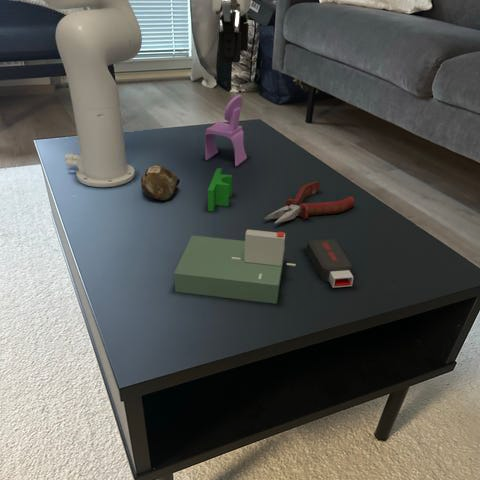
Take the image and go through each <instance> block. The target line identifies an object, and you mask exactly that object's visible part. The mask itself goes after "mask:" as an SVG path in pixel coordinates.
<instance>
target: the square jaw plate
mask: <svg viewBox="0 0 480 480" xmlns="http://www.w3.org/2000/svg"><path fill="white" fill-rule="evenodd" d="M244 235H245V236H244V241H245V254H244V262H249V263H258V264H267V265H275V266H282V262H283V253H284V254H285V252H284V245H285V244H286V232H285V231H277V232H275V231H267V230H265V231H264V230H255V229H246V231H245V234H244ZM283 263H284V262H283Z"/></svg>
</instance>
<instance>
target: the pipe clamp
mask: <svg viewBox="0 0 480 480" xmlns="http://www.w3.org/2000/svg"><path fill="white" fill-rule="evenodd" d="M232 196H233V175H232V174H225V173H224V174H223V168H221V167H220V168H219V167H217V168H216V169H215V171H214V174H213V176H212V179H211V182H210V184H209V186H208V189H207V211H208V212H214V211H215V208H216V206H223V207H229V206H230V198H231V197H232Z"/></svg>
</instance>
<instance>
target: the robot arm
mask: <svg viewBox="0 0 480 480" xmlns="http://www.w3.org/2000/svg"><path fill="white" fill-rule="evenodd" d="M42 1H43V2H44V3H45V4H46V6H49V7H50V8H52V9H55V10H73V9H81V8H88V9H85V10H79V11H74V12H70V13H69V14H66V15H65V16H63V17H62V18H61V19H60V20H59V21H58V23H57V25H56V29H55V43H56V47H57V48H56V49H57V51H58V54H59V56H60V60H61V62H62V65H63V68H64V70H65V75H66V78H67V79H66V80H67V83H68V88H69V93H70V100H71V105H72V111H73V116H74V123H75V128H76V134H77V141H78V147H79V153H78V154H75V153H65V155H64V160H65V164H66V166H67V167H76V168H77V171H76V173H75V174H76V179H77V180H78V182H80V183H81V184H82V185H85V186H89V187H94V188H111V187H112V188H113V187H118V186H122V185H125V184H127V183H129V182H131V181H132V180H133V179H134V178H135V176H136V170H135V168H134V167H133V166H132V165H131V164H128V162H127V154H126V153H127V152H126V143H125V134H124V124H123V115H122V106H121V98H120V91H119V87H118V85H117V83H116V80H115V79H114V77H113V75H112V74H111V72H110V70H109V68H108V67H109V66H111V65H114V64H115V65H116V64H120V63H123V62H127V61H129V60H132V59H134V58H135V57H137V56H138V54H139V53H140V51H141V48H142V45H143V44H142V42H143V37H142V30H141V26H140V24H139V21H138V19H137V16H136V14H135V12H134V11H135V10H134V9H133V7H132V4H131V3H130V1H129V0H42ZM251 4H252V0H211V12H212V13H213V15H214V16H218V15H220V19H219V31H218V55H219V56H218V58H219V62H221V63H240V62H241V56H242V55H241V53H242V52H246V51H248V49H249V22H248V21H249V20H248V19H249V17H248V14H249V13H248V11H250V9H251Z"/></svg>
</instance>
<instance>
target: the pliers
mask: <svg viewBox="0 0 480 480" xmlns="http://www.w3.org/2000/svg"><path fill="white" fill-rule="evenodd" d="M320 186H321V185H320V182H319V181H312V182H310V183H307V184H305V185H302V186H301V187H300V188H299V190H298V192H297V193H296V195H295V197H294V198H288V199H287V200H286V201H285V204H284V206H282V207H280V208H278V209H277V210H275V211H274V212H272V213H270V214H268V215H266V216H265V217H263V220H264V221H265V220H273V219H277V220H276V221H274V223H273V225H278V224H280V223H285V222H288V221H292V220H294V219H295V218H296V217H299V218H302V219H303V220H308V219H309V216H323V215H334V214H335V215H336V214H340V213H344V212H346V211H348V210H350V209H352V208H353V207H354V206H355V202H356V200H355V198H354V196H351V195H349V196H347V197H345V198H343V199H341V200H340V199H339V200H335V201H324V202H323V201H322V202H308V203H307V202H304V200H305V199H306V198H307V197H309V196H312V195H315V194H316V193H318V192H319V190H320Z"/></svg>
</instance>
